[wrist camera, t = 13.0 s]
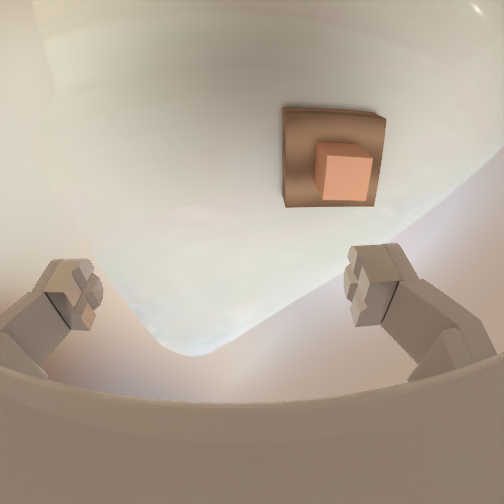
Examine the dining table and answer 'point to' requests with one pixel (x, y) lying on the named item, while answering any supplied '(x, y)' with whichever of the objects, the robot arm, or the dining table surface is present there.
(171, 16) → the dining table surface
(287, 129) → the walnut board
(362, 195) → the terracotta cube
